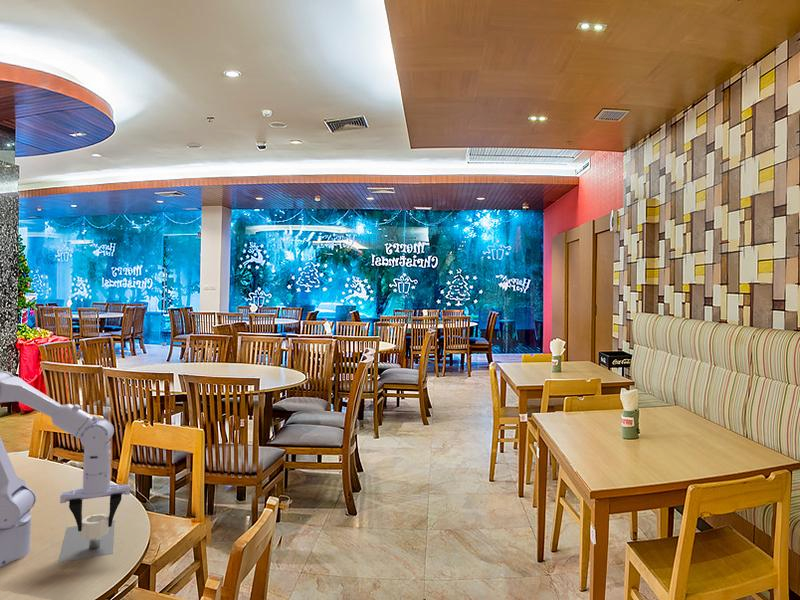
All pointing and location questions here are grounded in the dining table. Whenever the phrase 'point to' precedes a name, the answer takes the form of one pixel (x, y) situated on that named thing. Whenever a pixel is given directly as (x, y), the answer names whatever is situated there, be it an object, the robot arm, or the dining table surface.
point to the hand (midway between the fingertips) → (95, 527)
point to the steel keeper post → (94, 543)
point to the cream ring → (95, 526)
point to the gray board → (84, 545)
